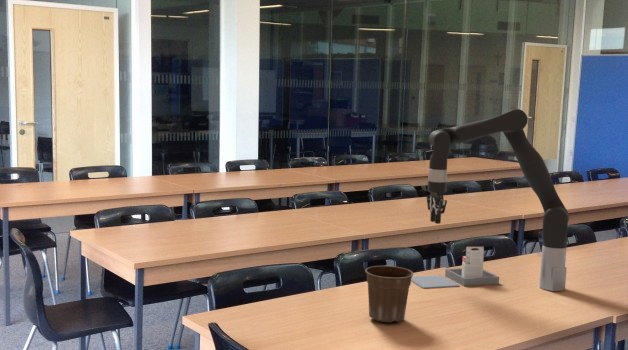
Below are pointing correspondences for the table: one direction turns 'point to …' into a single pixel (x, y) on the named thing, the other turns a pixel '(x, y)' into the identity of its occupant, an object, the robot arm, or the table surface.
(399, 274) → the plant pot
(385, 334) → the table surface
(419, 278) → the slate mat
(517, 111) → the robot arm
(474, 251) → the ink box
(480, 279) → the desk holder
